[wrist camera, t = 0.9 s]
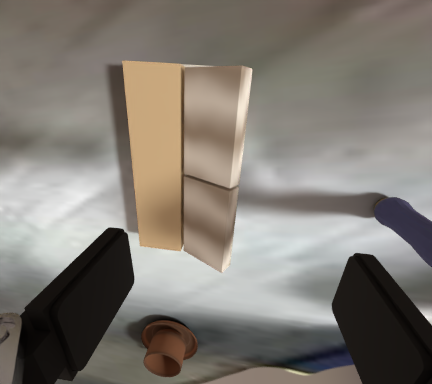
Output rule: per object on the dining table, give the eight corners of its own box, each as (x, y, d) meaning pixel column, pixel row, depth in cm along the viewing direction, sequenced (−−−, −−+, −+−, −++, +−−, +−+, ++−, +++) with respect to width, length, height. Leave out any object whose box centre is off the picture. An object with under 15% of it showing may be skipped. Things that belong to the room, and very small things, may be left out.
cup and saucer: (195, 356, 49) (189, 389, 43) (144, 344, 49) (131, 375, 43) (202, 321, 44) (196, 354, 38) (146, 308, 44) (131, 339, 39)
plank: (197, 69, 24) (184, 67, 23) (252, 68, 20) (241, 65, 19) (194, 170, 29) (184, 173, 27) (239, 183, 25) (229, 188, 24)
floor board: (136, 63, 26) (121, 58, 23) (250, 70, 25) (251, 65, 22) (148, 233, 36) (139, 246, 33) (231, 243, 35) (229, 258, 32)
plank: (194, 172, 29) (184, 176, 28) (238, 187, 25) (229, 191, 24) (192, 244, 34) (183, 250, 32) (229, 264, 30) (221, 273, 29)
